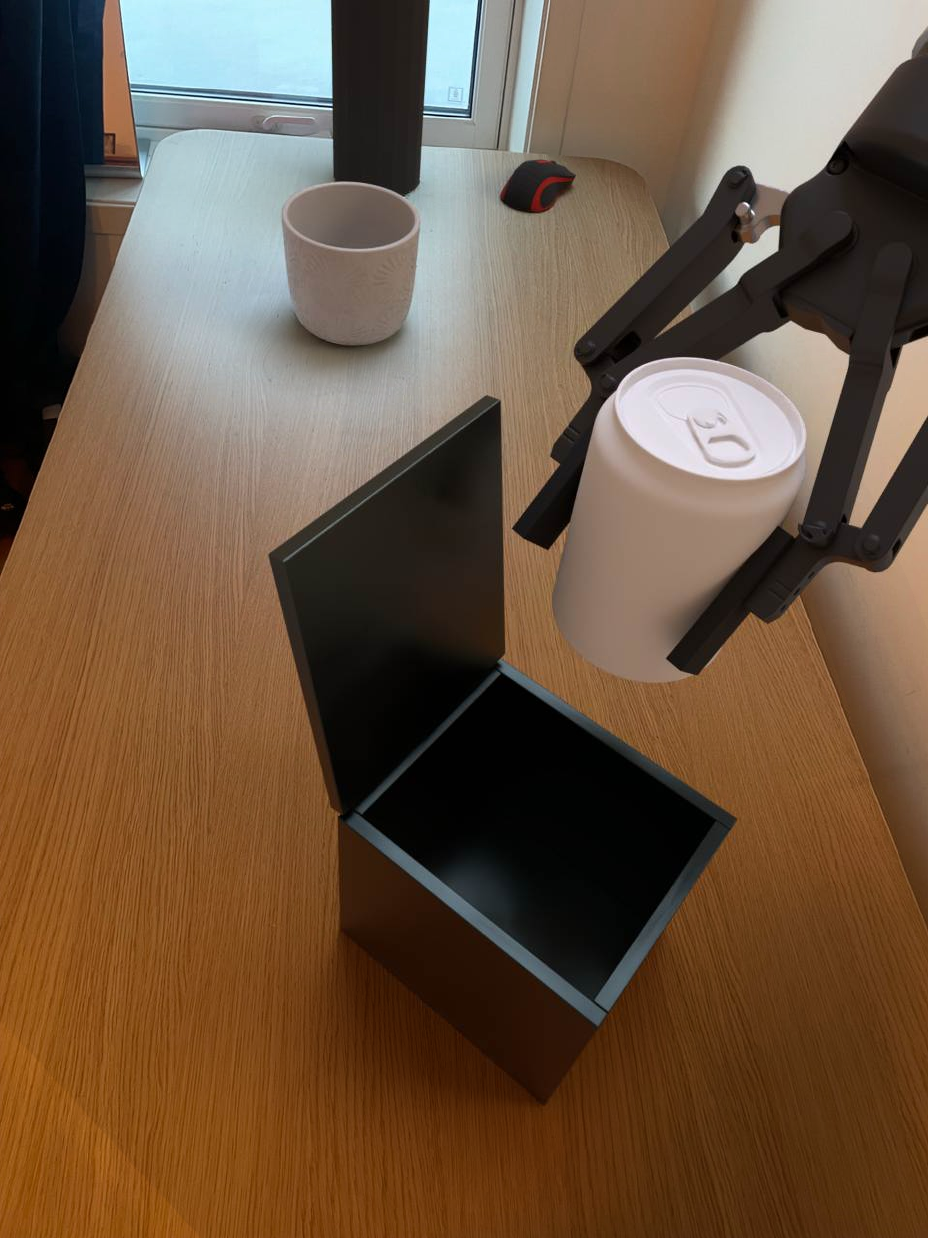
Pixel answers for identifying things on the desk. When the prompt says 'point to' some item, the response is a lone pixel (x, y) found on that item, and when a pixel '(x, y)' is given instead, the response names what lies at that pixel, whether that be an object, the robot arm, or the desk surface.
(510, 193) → the computer mouse
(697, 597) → the beverage can
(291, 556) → the bin lid
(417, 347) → the desk surface
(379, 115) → the vase
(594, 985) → the trash bin
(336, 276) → the planter
